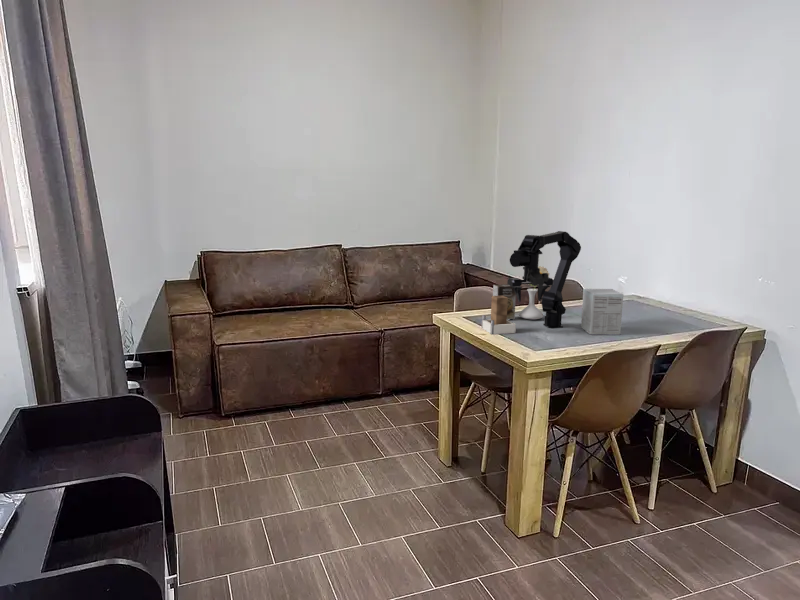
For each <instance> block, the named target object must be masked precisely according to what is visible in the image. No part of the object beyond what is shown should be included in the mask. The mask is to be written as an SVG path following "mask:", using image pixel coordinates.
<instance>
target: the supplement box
mask: <svg viewBox="0 0 800 600" xmlns="http://www.w3.org/2000/svg"><path fill="white" fill-rule="evenodd" d="M624 295H625V294H623V292H620V291H618V290H615V289H613V288H583V291H582V307H581V323H580V327H581V329H583V330H584V331H585V332H587V333H588V334H589V335H612V336H613V335H614V336H615V335H619V336H620V335H621V330H622V329H621V327H622V317H623V304H624Z"/></svg>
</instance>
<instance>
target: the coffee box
mask: <svg viewBox="0 0 800 600" xmlns="http://www.w3.org/2000/svg"><path fill="white" fill-rule="evenodd" d="M492 296H505V297H507V298H508V301H507V320H508V319H516V318H515V317H516V316H515V315H516V301H517V300H516V299H517V296H516V294H515V291H514V289H513V287H511V286H510V285H508V284H507V283H505V284H504V283H503V284H493V287H492Z"/></svg>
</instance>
